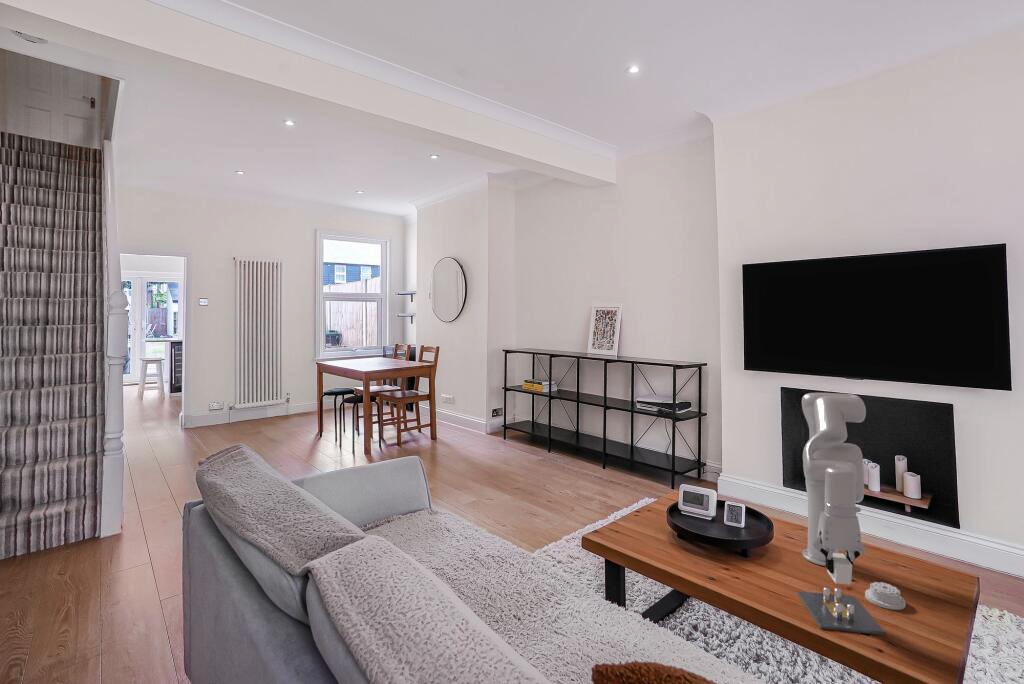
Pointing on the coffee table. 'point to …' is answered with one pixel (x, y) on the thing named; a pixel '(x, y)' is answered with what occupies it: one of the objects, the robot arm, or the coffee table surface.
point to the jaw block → (841, 569)
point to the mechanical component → (885, 596)
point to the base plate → (836, 623)
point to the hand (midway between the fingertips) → (838, 571)
